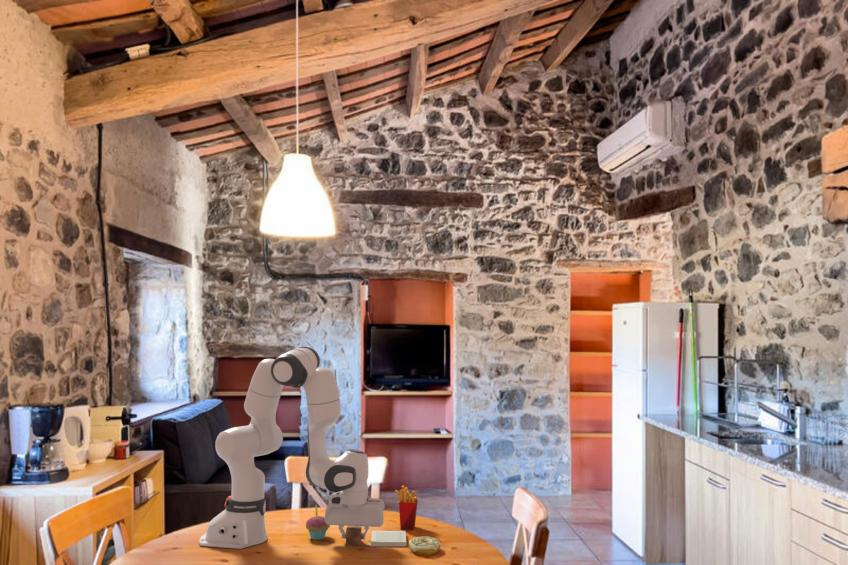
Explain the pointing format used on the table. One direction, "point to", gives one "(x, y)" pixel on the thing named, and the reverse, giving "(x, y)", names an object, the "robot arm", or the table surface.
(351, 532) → the walnut cube
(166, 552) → the table surface
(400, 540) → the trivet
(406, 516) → the french fries
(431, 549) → the decorated donut
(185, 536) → the table surface
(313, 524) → the cupcake
